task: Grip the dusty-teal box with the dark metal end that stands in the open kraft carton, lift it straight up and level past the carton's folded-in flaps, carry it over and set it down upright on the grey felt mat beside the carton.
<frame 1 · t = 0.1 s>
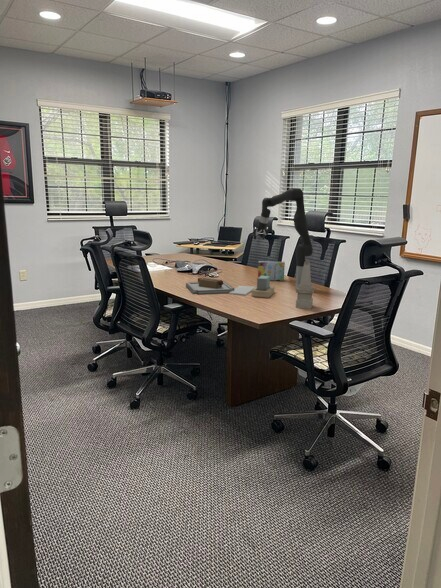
hand: (258, 239, 365), 31 cm above the table, tool tilted 20°, fingers open, 8 cm apart
mat: (242, 290, 313), on the table
book stand: (209, 290, 317), on the table
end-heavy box: (263, 285, 303), in the carton
miniature monument: (304, 306, 274), on the table
carton: (263, 294, 304), on the table
snack box: (270, 280, 356), on the table
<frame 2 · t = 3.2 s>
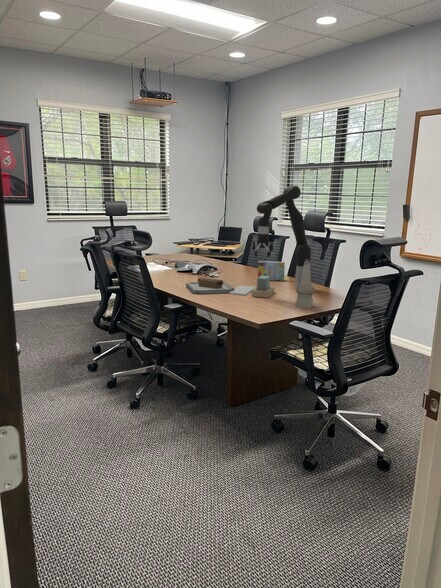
hand: (262, 256, 300), 26 cm above the table, tool pointing down, fingers open, 8 cm apart
nothing on the table moved.
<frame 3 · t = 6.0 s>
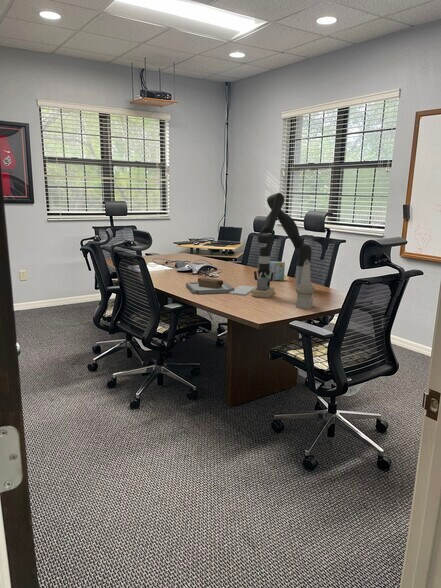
hand: (263, 286, 303), 6 cm above the table, tool pointing down, fingers closed on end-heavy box, 6 cm apart
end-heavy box: (263, 285, 303), in the carton, touching gripper
everything else where it was.
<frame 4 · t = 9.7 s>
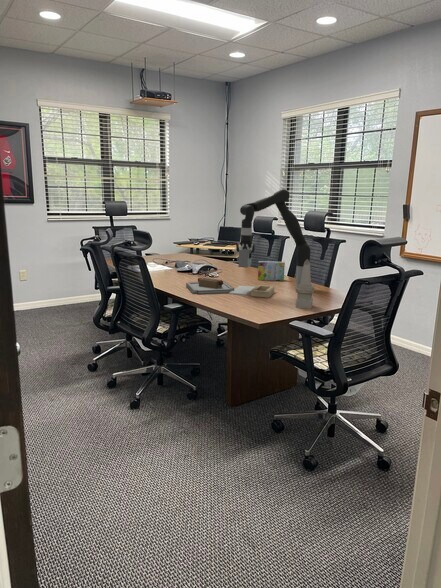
hand: (245, 258, 307), 24 cm above the table, tool pointing down, fingers closed on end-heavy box, 6 cm apart
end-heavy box: (245, 257, 307), point 24 cm above the table, touching gripper
everything else where it was.
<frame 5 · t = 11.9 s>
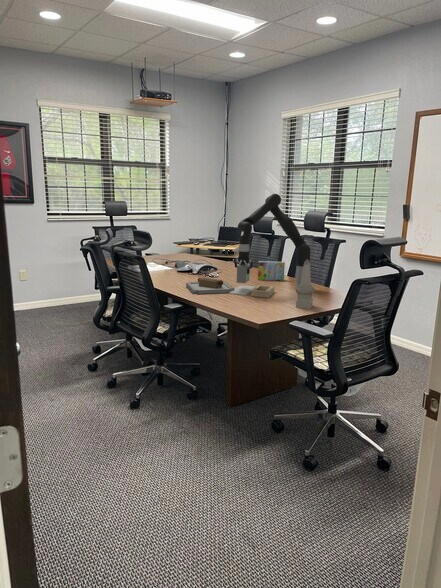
hand: (243, 273, 310), 13 cm above the table, tool pointing down, fingers closed on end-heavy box, 6 cm apart
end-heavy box: (243, 273, 310), point 13 cm above the table, touching gripper
everything else where it was.
when the fingers open (7 cm above the table, at t = 13.5 s): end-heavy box stays where it is, resting on mat.
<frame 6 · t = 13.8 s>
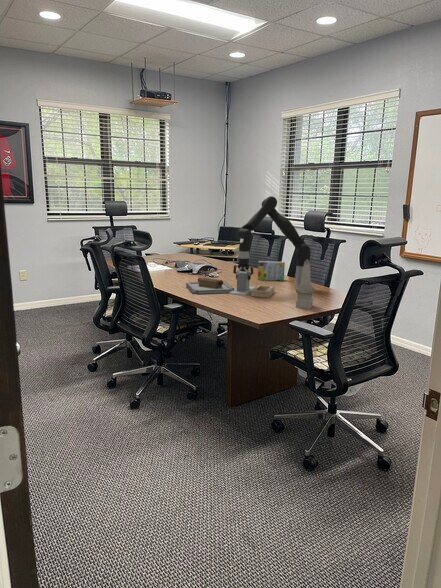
hand: (243, 279, 311), 8 cm above the table, tool pointing down, fingers open, 8 cm apart
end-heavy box: (243, 281, 311), on the mat, point 7 cm above the table
everything else where it was.
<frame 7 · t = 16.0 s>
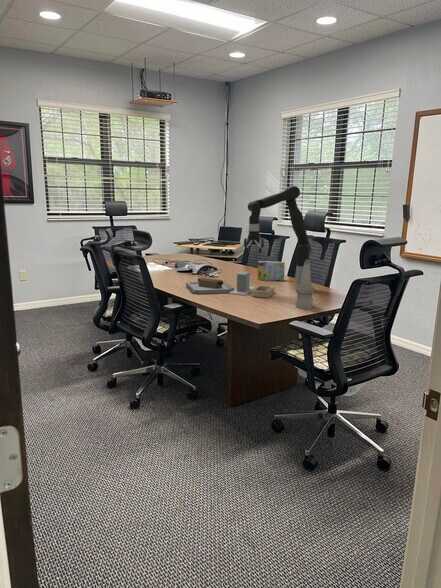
hand: (253, 253, 312), 27 cm above the table, tool pointing down, fingers open, 8 cm apart
nothing on the table moved.
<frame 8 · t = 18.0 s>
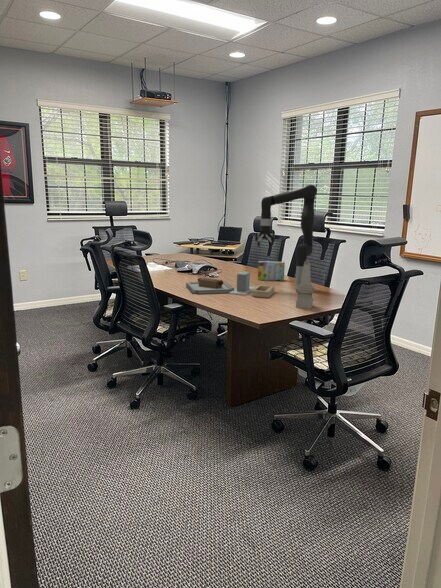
hand: (264, 247, 321), 30 cm above the table, tool pointing down, fingers open, 8 cm apart
nothing on the table moved.
at the end: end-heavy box inside the target area on the mat (0.2 cm from its centre), point 7.0 cm above the mat's base; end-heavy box tilted 0°; the gripper is holding nothing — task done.
